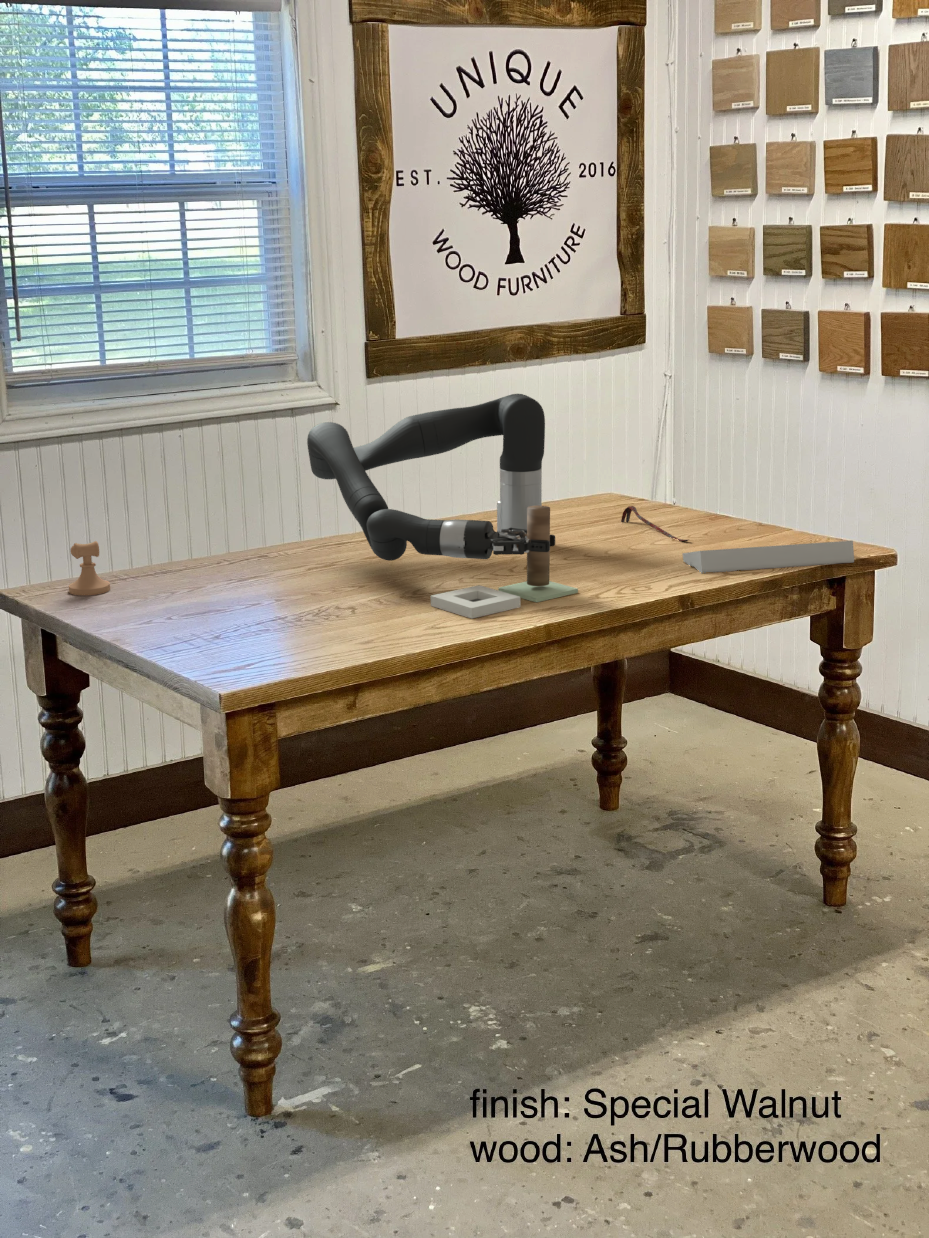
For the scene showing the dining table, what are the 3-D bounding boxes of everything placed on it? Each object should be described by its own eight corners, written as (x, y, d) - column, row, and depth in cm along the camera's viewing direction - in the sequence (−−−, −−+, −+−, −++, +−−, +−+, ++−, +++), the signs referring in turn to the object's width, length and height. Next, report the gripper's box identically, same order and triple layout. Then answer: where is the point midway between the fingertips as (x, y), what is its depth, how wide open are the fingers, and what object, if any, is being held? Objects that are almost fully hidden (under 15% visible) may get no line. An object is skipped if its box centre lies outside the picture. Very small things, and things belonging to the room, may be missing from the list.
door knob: (109, 544, 284) (68, 548, 281) (113, 592, 287) (72, 597, 284) (102, 536, 291) (62, 540, 288) (106, 583, 294) (66, 587, 291)
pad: (498, 591, 284) (498, 587, 284) (539, 582, 291) (539, 578, 291) (536, 602, 276) (536, 598, 276) (578, 592, 283) (578, 588, 283)
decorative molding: (683, 576, 306) (702, 574, 296) (682, 553, 306) (700, 550, 296) (832, 565, 314) (854, 563, 304) (830, 543, 314) (852, 540, 304)
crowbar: (620, 523, 346) (622, 503, 344) (628, 522, 347) (630, 502, 345) (681, 560, 325) (683, 538, 323) (689, 558, 326) (692, 537, 324)
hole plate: (430, 605, 275) (430, 595, 274) (479, 595, 282) (479, 585, 281) (471, 618, 266) (471, 608, 265) (520, 607, 273) (520, 596, 272)
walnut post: (522, 583, 283) (522, 507, 279) (538, 579, 286) (539, 504, 282) (537, 587, 280) (537, 511, 276) (554, 583, 283) (554, 508, 279)
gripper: (476, 549, 292) (559, 554, 288) (457, 566, 279) (544, 571, 275) (476, 513, 290) (560, 517, 286) (456, 527, 277) (544, 532, 273)
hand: (551, 543), depth 280 cm, fingers closed on walnut post, 4 cm apart
